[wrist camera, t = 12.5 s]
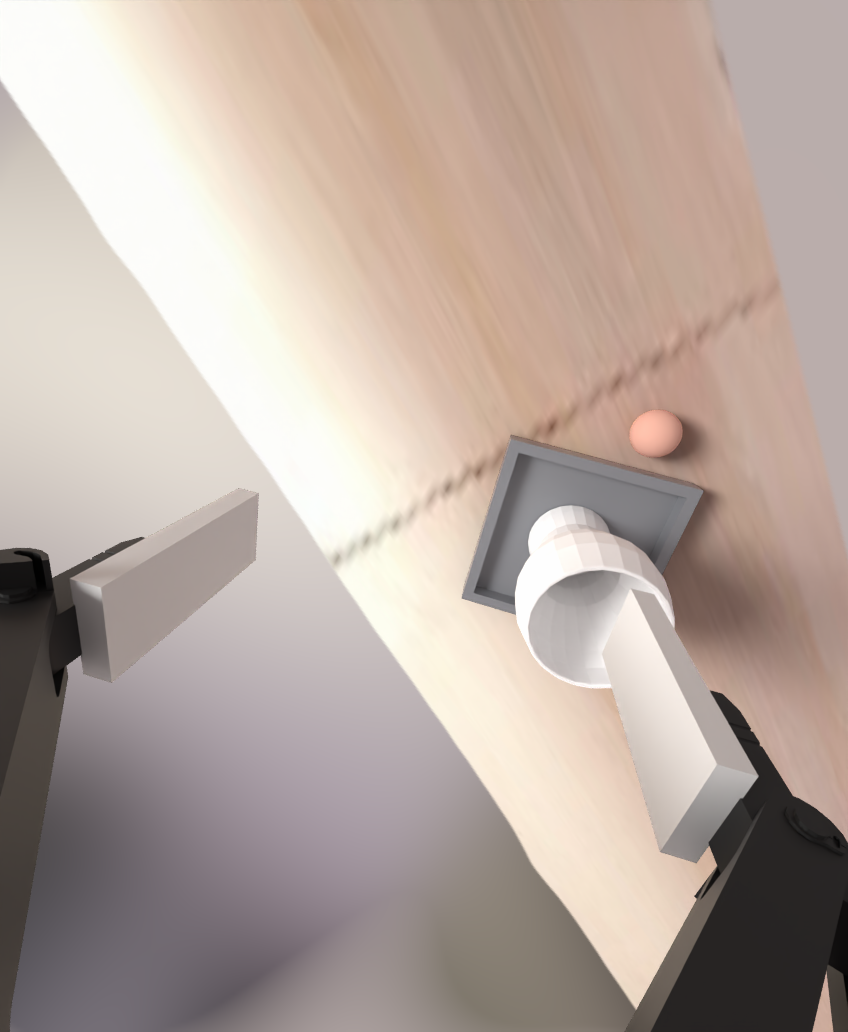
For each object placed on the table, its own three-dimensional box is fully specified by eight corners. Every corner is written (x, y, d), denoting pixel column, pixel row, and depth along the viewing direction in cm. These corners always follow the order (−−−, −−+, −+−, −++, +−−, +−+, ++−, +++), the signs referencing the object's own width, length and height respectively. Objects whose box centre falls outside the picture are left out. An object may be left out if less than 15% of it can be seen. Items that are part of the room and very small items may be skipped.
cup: (651, 544, 42) (722, 638, 28) (563, 609, 46) (588, 720, 32) (573, 467, 41) (608, 525, 27) (490, 540, 45) (483, 624, 31)
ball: (635, 402, 39) (648, 406, 35) (680, 413, 39) (699, 419, 35) (617, 445, 40) (628, 454, 37) (661, 457, 40) (677, 467, 36)
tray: (510, 434, 42) (511, 439, 39) (693, 483, 40) (703, 490, 38) (463, 587, 48) (461, 598, 46) (620, 633, 47) (625, 647, 44)
